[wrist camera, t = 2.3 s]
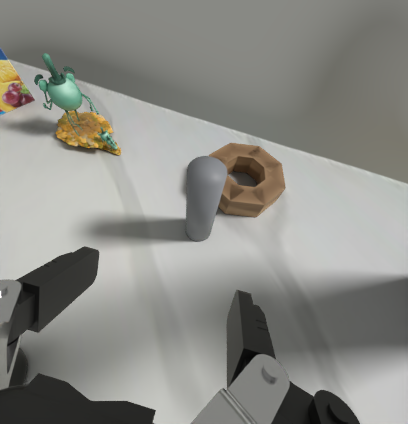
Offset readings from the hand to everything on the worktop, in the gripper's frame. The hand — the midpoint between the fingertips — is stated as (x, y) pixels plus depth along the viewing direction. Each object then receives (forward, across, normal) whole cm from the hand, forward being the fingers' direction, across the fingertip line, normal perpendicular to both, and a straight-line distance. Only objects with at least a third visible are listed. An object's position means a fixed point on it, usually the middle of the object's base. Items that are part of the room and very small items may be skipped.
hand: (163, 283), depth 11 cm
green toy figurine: (+30, +27, -6) cm, 41 cm away
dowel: (+20, 0, +4) cm, 21 cm away
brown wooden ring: (+28, -5, -4) cm, 29 cm away
